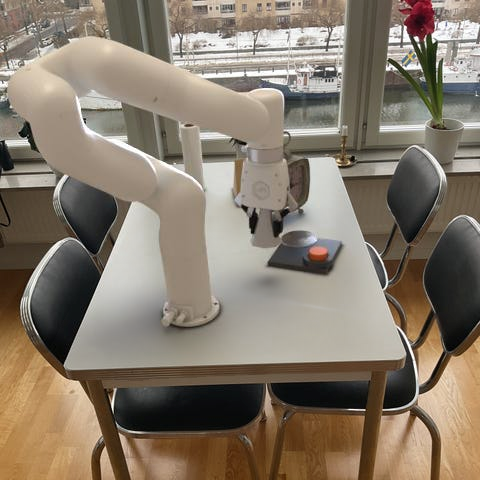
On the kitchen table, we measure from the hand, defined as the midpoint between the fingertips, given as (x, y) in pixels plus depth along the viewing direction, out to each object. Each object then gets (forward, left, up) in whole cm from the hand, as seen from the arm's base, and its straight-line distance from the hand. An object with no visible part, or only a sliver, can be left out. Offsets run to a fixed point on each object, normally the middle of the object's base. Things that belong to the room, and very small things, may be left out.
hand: (265, 232), depth 122 cm
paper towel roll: (+47, +43, -13) cm, 65 cm away
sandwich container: (+47, +24, -13) cm, 54 cm away
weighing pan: (+17, -3, -10) cm, 20 cm away
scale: (+14, -5, -13) cm, 20 cm away
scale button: (+10, -10, -10) cm, 17 cm away
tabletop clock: (+34, +8, -13) cm, 37 cm away
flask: (0, 0, -3) cm, 3 cm away
